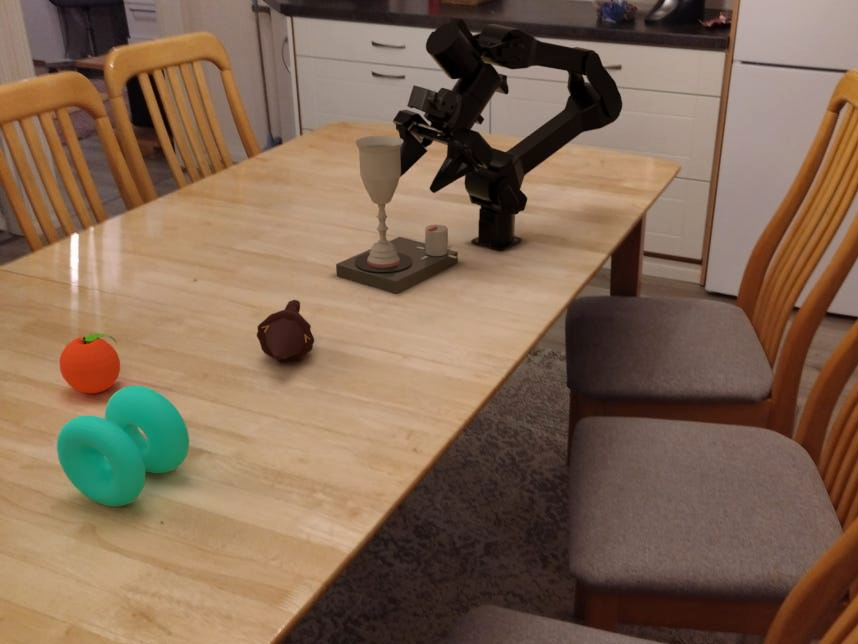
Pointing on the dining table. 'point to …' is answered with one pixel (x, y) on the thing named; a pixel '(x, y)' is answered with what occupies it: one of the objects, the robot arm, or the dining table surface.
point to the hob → (404, 279)
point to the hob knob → (436, 240)
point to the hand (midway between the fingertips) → (412, 184)
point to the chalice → (380, 185)
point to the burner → (381, 268)
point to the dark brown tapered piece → (286, 334)
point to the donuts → (123, 445)
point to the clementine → (90, 364)
